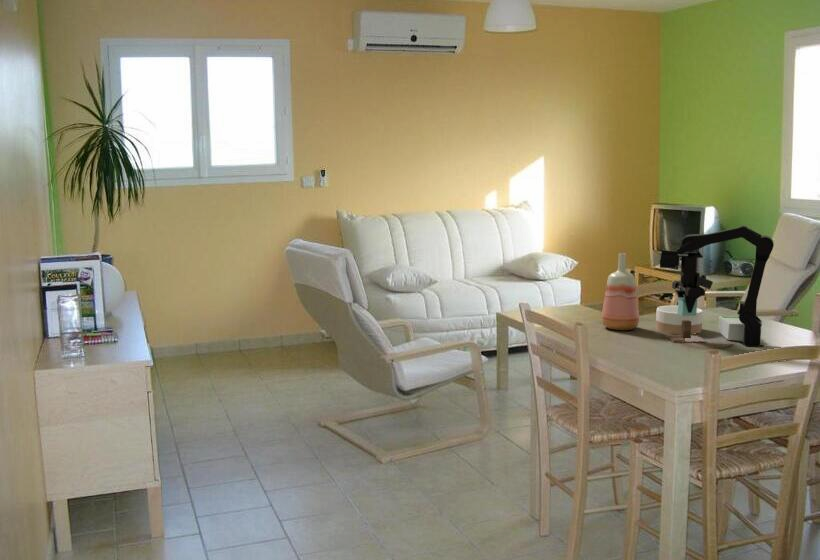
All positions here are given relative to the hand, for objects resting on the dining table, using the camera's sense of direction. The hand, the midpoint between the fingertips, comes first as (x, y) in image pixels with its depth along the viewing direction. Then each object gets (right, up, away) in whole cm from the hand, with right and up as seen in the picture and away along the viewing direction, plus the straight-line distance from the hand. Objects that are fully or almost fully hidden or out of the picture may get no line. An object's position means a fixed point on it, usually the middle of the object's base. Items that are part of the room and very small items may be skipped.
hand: (687, 311), depth 326 cm
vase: (-20, -8, +22) cm, 30 cm away
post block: (0, -11, +2) cm, 11 cm away
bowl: (+2, -8, +19) cm, 21 cm away
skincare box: (+20, -6, +14) cm, 25 cm away
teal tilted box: (0, -1, 0) cm, 1 cm away
